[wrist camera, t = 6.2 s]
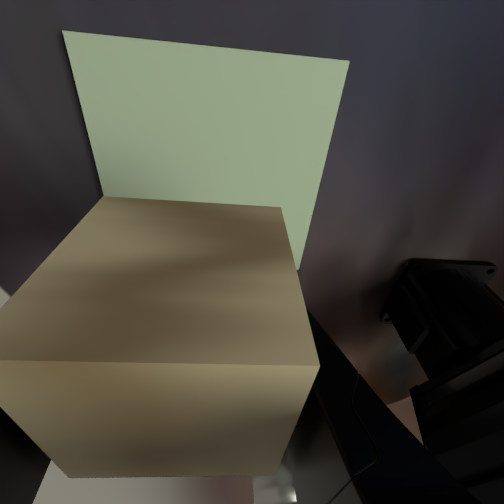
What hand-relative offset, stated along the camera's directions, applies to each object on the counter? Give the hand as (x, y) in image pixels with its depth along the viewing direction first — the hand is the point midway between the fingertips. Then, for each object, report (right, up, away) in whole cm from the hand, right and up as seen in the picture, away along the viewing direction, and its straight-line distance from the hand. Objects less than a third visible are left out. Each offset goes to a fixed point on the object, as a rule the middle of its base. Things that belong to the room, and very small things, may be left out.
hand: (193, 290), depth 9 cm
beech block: (0, +1, +1) cm, 1 cm away
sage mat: (0, +5, +7) cm, 9 cm away
